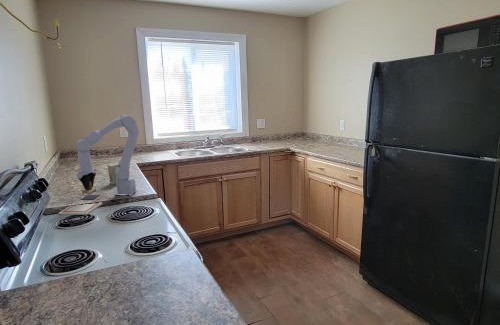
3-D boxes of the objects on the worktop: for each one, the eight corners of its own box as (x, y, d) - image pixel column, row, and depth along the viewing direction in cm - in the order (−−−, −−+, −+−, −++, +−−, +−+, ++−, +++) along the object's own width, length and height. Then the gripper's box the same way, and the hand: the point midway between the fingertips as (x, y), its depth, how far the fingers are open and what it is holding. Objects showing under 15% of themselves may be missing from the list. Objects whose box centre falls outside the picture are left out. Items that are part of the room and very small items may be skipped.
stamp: (96, 190, 166) (94, 179, 165) (91, 193, 161) (89, 182, 160) (87, 190, 167) (86, 179, 165) (82, 193, 162) (80, 182, 160)
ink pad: (101, 197, 169) (101, 194, 168) (93, 202, 161) (93, 199, 161) (87, 197, 169) (87, 194, 169) (79, 202, 161) (78, 199, 161)
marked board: (102, 203, 159) (102, 202, 158) (87, 214, 145) (86, 212, 145) (76, 203, 159) (76, 201, 159) (58, 214, 146) (58, 212, 146)
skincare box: (119, 181, 198) (117, 162, 195) (122, 182, 195) (120, 163, 192) (109, 183, 193) (107, 164, 190) (112, 184, 190) (110, 165, 188)
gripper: (86, 159, 168) (89, 183, 171) (69, 166, 153) (73, 192, 157) (98, 159, 167) (101, 183, 170) (82, 166, 153) (86, 192, 156)
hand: (88, 187), depth 163 cm, fingers closed on stamp, 3 cm apart
